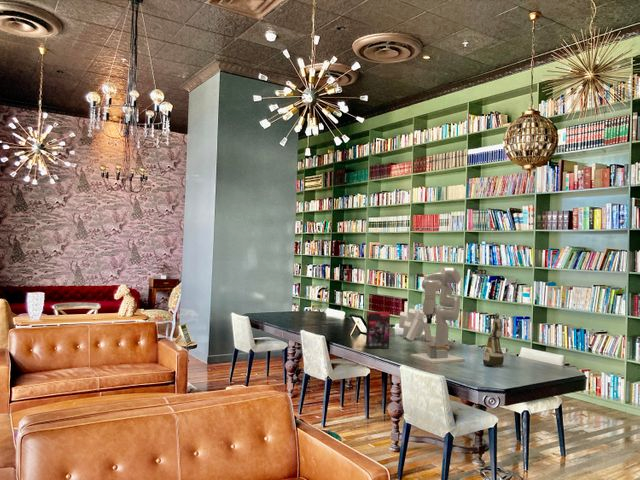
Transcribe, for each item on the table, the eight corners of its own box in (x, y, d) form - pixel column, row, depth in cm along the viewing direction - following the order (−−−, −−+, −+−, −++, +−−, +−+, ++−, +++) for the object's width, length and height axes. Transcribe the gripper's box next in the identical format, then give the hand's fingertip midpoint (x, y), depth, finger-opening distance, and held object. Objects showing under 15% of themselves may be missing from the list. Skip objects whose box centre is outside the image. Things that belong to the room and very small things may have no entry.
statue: (495, 362, 345) (497, 311, 345) (508, 366, 335) (510, 313, 336) (477, 364, 337) (479, 312, 338) (490, 368, 327) (492, 314, 328)
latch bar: (446, 347, 356) (446, 343, 356) (449, 348, 353) (449, 344, 353) (427, 349, 347) (427, 345, 347) (430, 349, 344) (431, 345, 344)
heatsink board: (441, 354, 367) (441, 340, 367) (464, 361, 346) (465, 346, 346) (410, 356, 354) (410, 342, 354) (432, 363, 333) (433, 348, 333)
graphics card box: (367, 348, 375) (369, 312, 376) (364, 346, 382) (366, 311, 383) (389, 348, 379) (390, 312, 379) (386, 347, 386) (387, 311, 386)
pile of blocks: (387, 341, 441) (386, 308, 425) (410, 326, 457) (410, 294, 442) (418, 359, 416) (418, 325, 400) (441, 343, 432) (442, 309, 417)
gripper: (419, 296, 365) (418, 322, 365) (432, 299, 352) (432, 325, 352) (427, 296, 369) (426, 321, 368) (441, 298, 355) (440, 324, 355)
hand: (429, 323), depth 360 cm, fingers closed
